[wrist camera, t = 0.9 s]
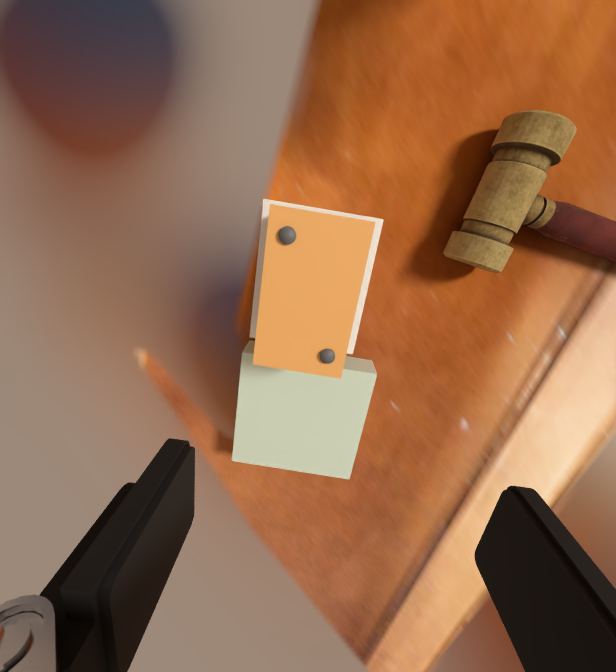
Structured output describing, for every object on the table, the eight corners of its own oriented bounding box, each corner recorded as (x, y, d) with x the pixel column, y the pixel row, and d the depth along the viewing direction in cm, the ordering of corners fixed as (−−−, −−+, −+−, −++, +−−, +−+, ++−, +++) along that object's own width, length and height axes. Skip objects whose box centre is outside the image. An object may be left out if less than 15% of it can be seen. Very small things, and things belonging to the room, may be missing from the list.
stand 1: (269, 201, 25) (263, 198, 23) (376, 220, 26) (383, 219, 23) (256, 326, 29) (249, 337, 26) (349, 341, 29) (352, 354, 26)
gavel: (789, 211, 22) (687, 337, 25) (708, 212, 26) (631, 320, 29) (534, 100, 19) (458, 259, 22) (491, 122, 23) (433, 252, 27)
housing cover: (277, 207, 20) (269, 203, 17) (367, 222, 20) (376, 221, 17) (260, 347, 23) (252, 365, 20) (338, 360, 23) (341, 380, 20)
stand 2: (249, 340, 30) (242, 352, 27) (371, 360, 30) (377, 374, 27) (239, 441, 34) (231, 460, 31) (346, 458, 34) (349, 479, 31)
